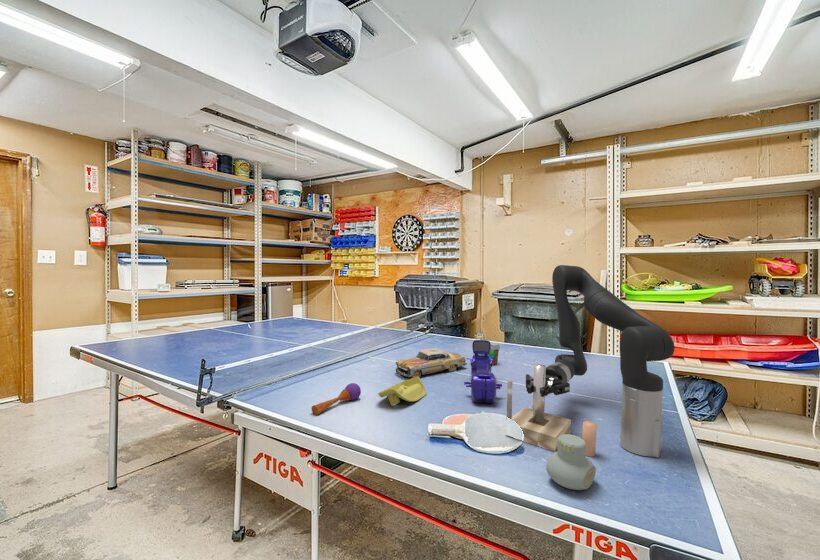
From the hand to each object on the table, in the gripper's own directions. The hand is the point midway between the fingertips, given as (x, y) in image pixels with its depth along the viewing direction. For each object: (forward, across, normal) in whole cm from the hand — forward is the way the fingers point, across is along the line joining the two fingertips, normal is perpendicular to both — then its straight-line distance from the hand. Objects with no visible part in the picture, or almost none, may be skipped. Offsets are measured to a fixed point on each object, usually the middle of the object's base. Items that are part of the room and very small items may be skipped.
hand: (535, 391), depth 104 cm
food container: (-58, -46, +14) cm, 75 cm away
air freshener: (+15, +14, +13) cm, 25 cm away
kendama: (+21, -61, +14) cm, 66 cm away
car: (-31, -59, +14) cm, 68 cm away
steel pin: (-3, 0, +9) cm, 9 cm away
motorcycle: (-25, -30, +14) cm, 42 cm away
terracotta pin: (-1, +14, +13) cm, 19 cm away
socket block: (-3, 0, +13) cm, 14 cm away
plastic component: (+3, -48, +14) cm, 50 cm away
